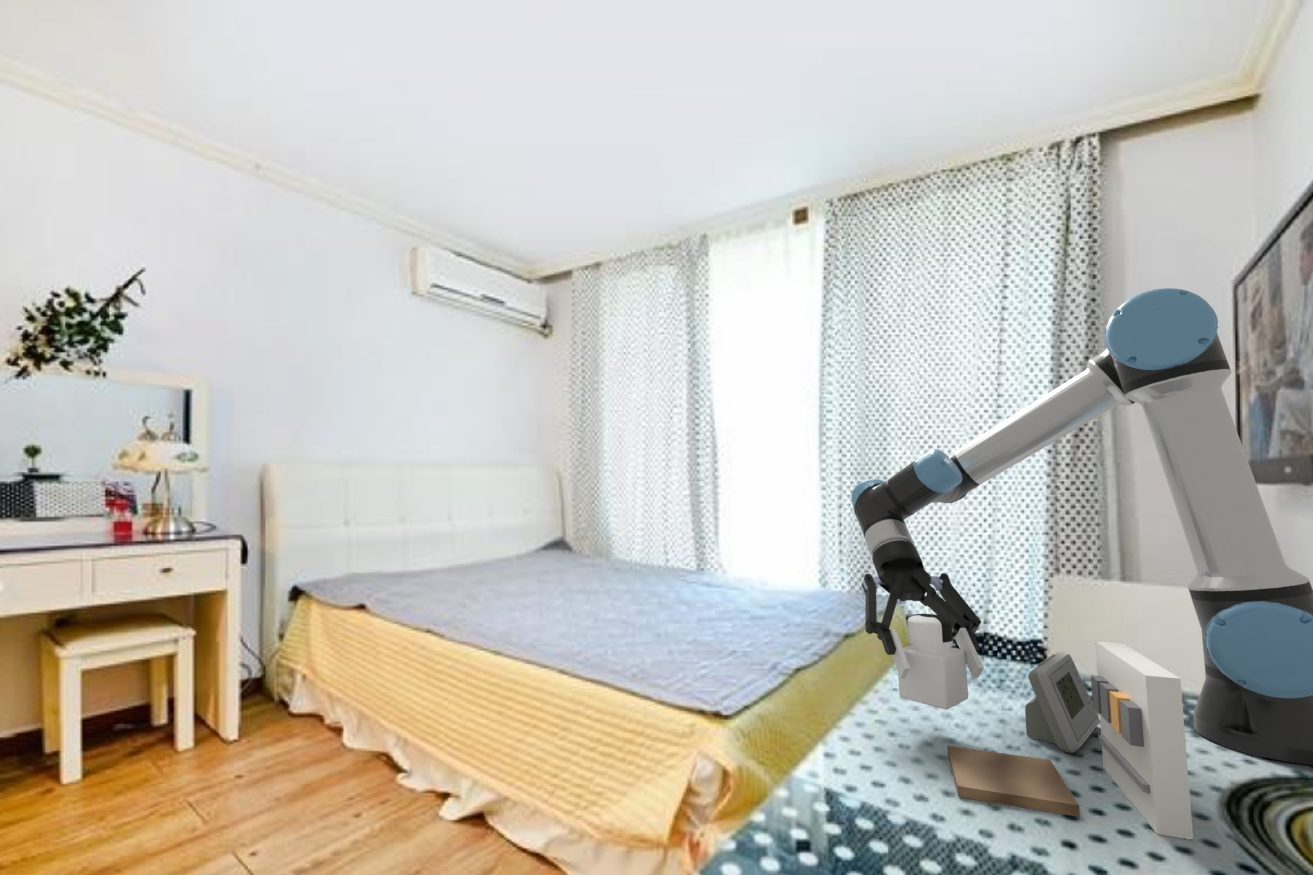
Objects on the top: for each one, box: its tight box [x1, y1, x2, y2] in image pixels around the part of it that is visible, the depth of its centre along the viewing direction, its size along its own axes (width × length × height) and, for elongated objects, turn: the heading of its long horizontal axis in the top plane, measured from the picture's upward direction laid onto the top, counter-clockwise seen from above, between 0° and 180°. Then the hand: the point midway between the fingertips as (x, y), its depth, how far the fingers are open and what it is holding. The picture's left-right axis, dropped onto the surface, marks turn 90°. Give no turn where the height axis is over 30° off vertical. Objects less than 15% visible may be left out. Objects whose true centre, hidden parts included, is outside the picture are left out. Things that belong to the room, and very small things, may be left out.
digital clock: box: [1024, 651, 1101, 754], centre depth 88 cm, size 16×9×11 cm, turn 122°
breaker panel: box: [1090, 640, 1194, 840], centre depth 69 cm, size 4×16×16 cm, turn 159°
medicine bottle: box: [898, 613, 969, 710], centre depth 88 cm, size 7×7×12 cm
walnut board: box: [946, 745, 1081, 818], centre depth 73 cm, size 12×12×1 cm
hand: (941, 673), depth 85 cm, fingers closed on medicine bottle, 10 cm apart
